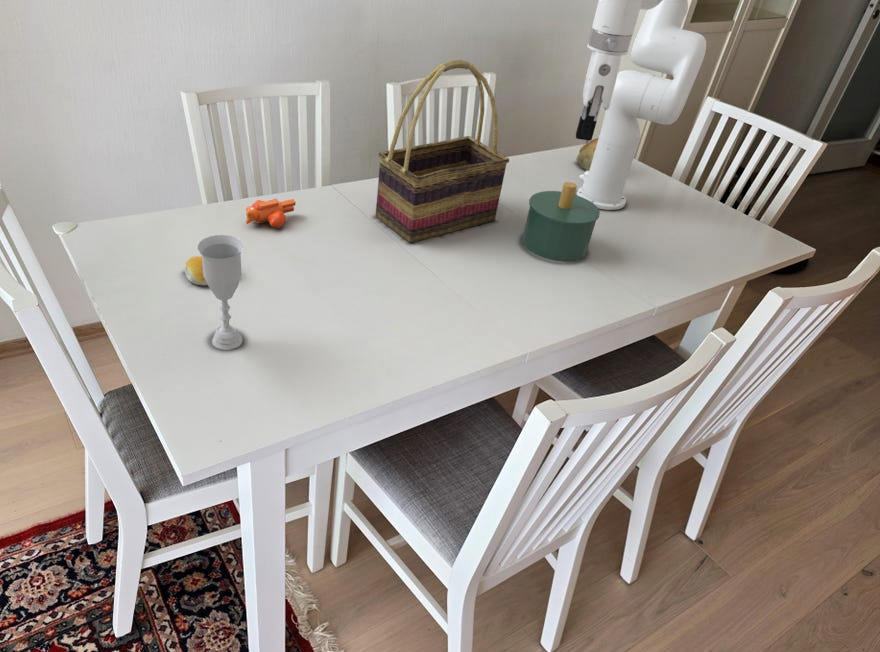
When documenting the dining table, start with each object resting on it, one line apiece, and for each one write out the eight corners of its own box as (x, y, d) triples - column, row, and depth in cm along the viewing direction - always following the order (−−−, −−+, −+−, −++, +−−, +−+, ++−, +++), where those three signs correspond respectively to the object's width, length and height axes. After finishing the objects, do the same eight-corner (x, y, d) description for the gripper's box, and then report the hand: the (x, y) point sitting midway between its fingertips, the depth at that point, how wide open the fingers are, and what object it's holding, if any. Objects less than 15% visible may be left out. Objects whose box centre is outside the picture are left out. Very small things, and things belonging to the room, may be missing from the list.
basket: (408, 245, 147) (428, 77, 125) (371, 216, 155) (383, 55, 134) (499, 221, 160) (531, 66, 138) (459, 196, 169) (484, 46, 147)
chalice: (209, 327, 117) (201, 233, 106) (249, 328, 118) (245, 236, 107) (203, 353, 111) (194, 257, 100) (245, 354, 112) (241, 259, 101)
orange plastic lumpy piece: (289, 188, 150) (240, 199, 143) (306, 211, 147) (257, 223, 141) (285, 205, 153) (237, 216, 147) (302, 227, 151) (254, 240, 144)
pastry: (578, 155, 199) (585, 128, 194) (621, 164, 197) (629, 137, 192) (571, 171, 189) (579, 143, 184) (616, 182, 186) (625, 153, 181)
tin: (510, 246, 151) (519, 206, 145) (540, 225, 161) (549, 187, 155) (568, 270, 145) (580, 230, 139) (596, 247, 154) (608, 209, 149)
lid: (515, 209, 145) (521, 182, 142) (548, 189, 155) (554, 163, 152) (580, 235, 139) (588, 207, 135) (609, 212, 149) (617, 186, 145)
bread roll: (240, 280, 130) (240, 262, 127) (195, 290, 125) (193, 272, 123) (224, 259, 135) (223, 242, 132) (179, 269, 130) (177, 251, 128)
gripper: (632, 54, 120) (603, 154, 131) (626, 35, 131) (600, 129, 143) (590, 48, 120) (564, 148, 132) (588, 29, 132) (564, 123, 144)
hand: (583, 138), depth 137 cm, fingers closed
